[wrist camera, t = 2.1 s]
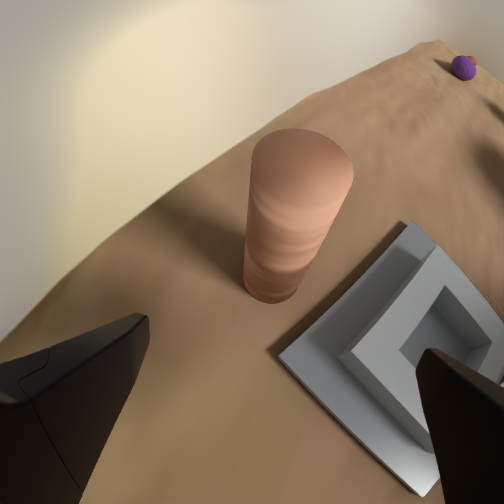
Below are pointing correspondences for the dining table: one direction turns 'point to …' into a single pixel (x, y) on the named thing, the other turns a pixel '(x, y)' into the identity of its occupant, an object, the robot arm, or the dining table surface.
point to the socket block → (396, 350)
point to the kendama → (464, 67)
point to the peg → (290, 208)
